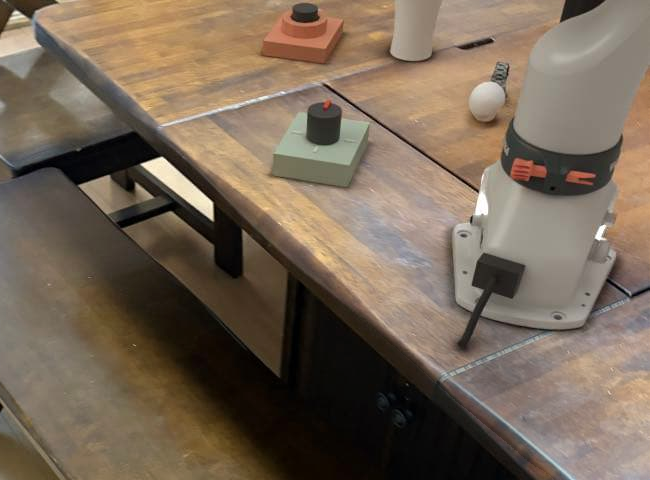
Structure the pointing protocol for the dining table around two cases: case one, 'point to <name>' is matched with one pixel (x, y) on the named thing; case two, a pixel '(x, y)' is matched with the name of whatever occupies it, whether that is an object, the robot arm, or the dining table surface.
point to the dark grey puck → (305, 13)
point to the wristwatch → (501, 75)
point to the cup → (414, 28)
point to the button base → (303, 38)
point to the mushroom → (486, 101)
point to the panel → (321, 153)
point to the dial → (323, 123)
